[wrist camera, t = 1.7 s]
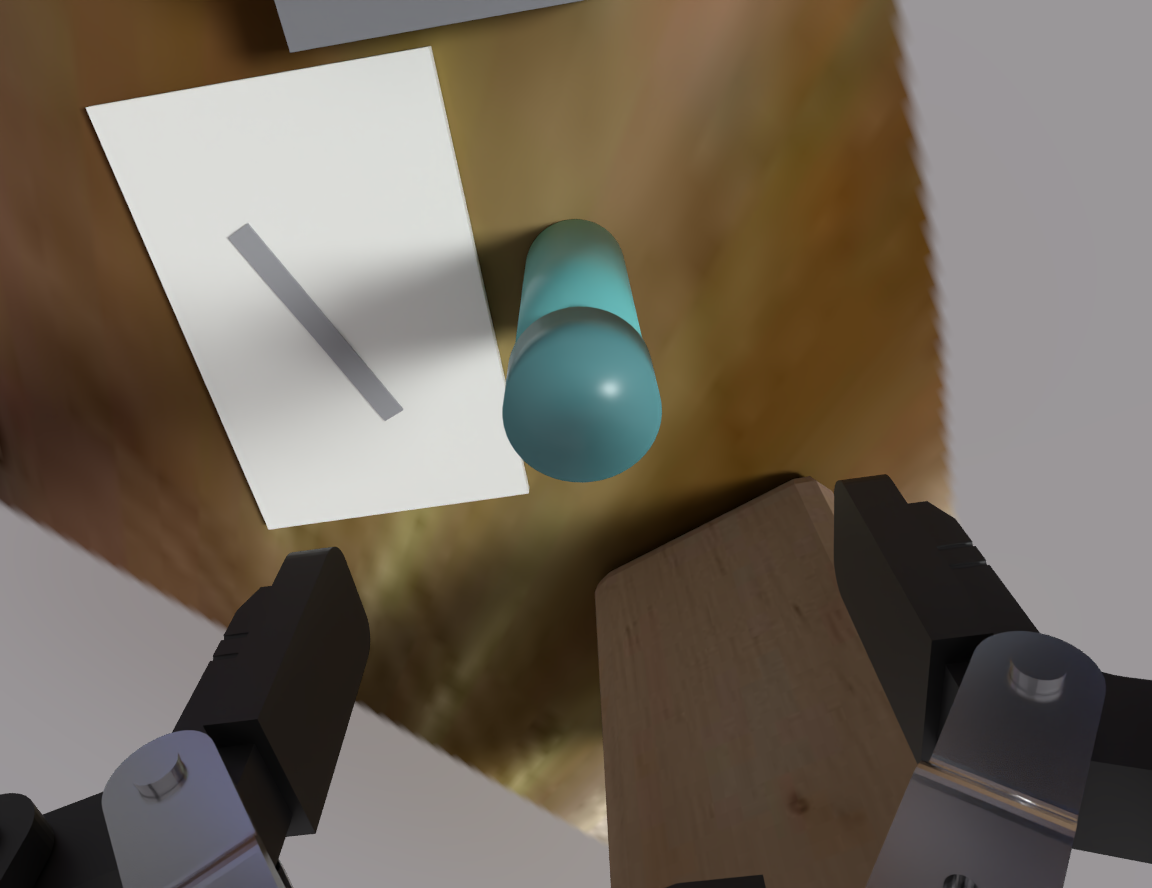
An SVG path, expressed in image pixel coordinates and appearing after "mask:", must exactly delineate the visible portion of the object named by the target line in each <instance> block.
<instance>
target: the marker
mask: <svg viewBox="0 0 1152 888" xmlns="http://www.w3.org/2000/svg"><path fill="white" fill-rule="evenodd" d="M661 415H662V407H661V399H660V394H659V390H658V386H657V382H656V377H655V373H654V369H653V365H652V361H651V356H650V353H649V351H648V348H647V346H646V344H645V342H644V340H643V339H642V336H641V332H640V327H639V323H638V319H637V314H636V310H635V305H634V301H633V297H632V292H631V288H630V283H629V279H628V274H627V270H626V266H625V261H624V257H623V253H622V250H621V248H620V246H619V244H618V242H617V241H616V239H615V238H614V237H613V236H612V235H611V234H610V233H609V232H608V231H607V230H606V229H604V228H603V227H601V226H600V225H598V224H595V223H593V222H590V221H586V220H581V219H571V220H564V221H560V222H558V223H555V224H553V225H551V226H549V227H548V228H546V229H545V230H543V231H542V232H541V233H540V234H539V235H538V236H537V238H536V239H535V240H534V242H533V243H532V245H531V247H530V249H529V251H528V254H527V258H526V265H525V273H524V280H523V288H522V296H521V304H520V312H519V319H518V327H517V335H516V343H515V345H514V347H513V350H512V352H511V355H510V359H509V364H508V371H507V378H506V386H505V393H504V400H503V407H502V418H503V425H504V429H505V432H506V435H507V438H508V440H509V442H510V444H511V445H512V447H513V448H514V450H515V451H516V453H517V454H518V455H519V456H520V457H521V458H522V459H523V460H524V461H525V462H526V463H527V464H528V465H530V466H531V467H533V468H534V469H535V470H537V471H539V472H541V473H543V474H545V475H547V476H550V477H552V478H555V479H559V480H563V481H570V482H593V481H598V480H603V479H606V478H610V477H613V476H615V475H617V474H620V473H622V472H623V471H625V470H627V469H628V468H630V467H631V466H633V465H634V464H635V463H637V462H638V461H639V460H640V459H641V458H642V457H643V456H644V455H645V454H646V452H647V451H648V450H649V449H650V447H651V445H652V444H653V442H654V440H655V438H656V436H657V433H658V431H659V427H660V423H661Z"/></svg>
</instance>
